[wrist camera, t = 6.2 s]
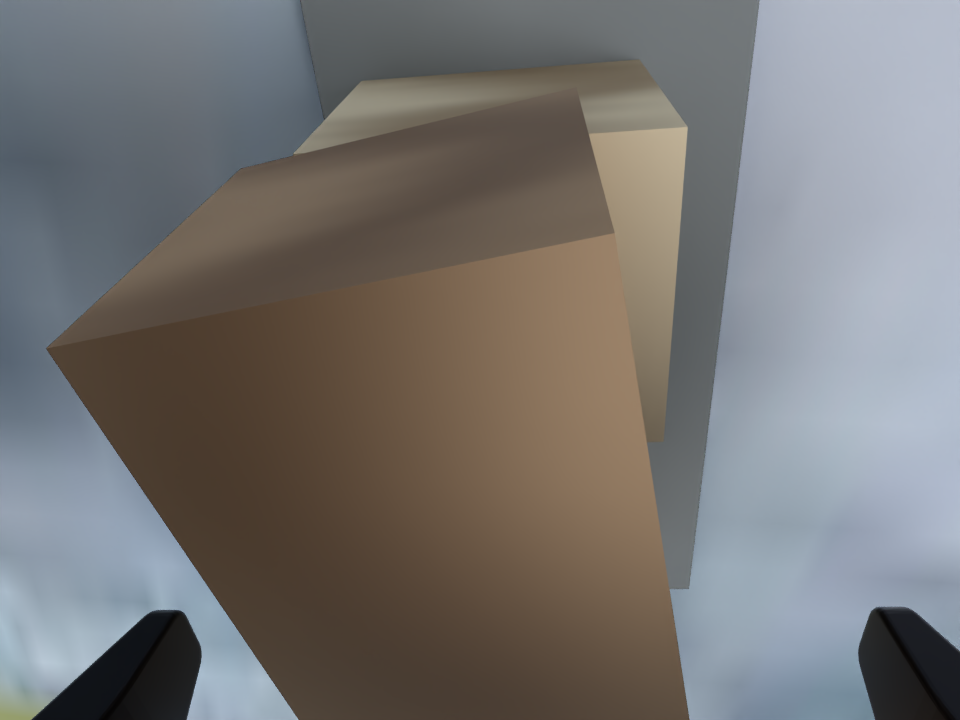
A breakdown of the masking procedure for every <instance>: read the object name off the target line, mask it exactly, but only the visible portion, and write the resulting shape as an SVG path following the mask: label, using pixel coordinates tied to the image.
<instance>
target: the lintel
mask: <svg viewBox="0 0 960 720" xmlns="http://www.w3.org/2000/svg"><path fill="white" fill-rule="evenodd" d="M46 349H47V351H48V352H49V354H50V355H51V357H52V358H53V360H54V361H55V363H56V364H57V365H58V367H59V368H60V370H61V371H62V373H63V374H64V376H65V377H66V379H67V380H68V382H69V383H70V385H71V386H72V387H73V389H74V390H75V392H76V393H77V395H78V396H79V398H80V399H81V401H82V402H83V404H84V405H85V407H86V408H87V409H88V411H89V412H90V414H91V415H92V417H93V418H94V420H95V421H96V423H97V424H98V426H99V427H100V429H101V430H102V432H103V433H104V434H105V436H106V437H107V439H108V440H109V442H110V443H111V445H112V446H113V448H114V449H115V451H116V452H117V454H118V455H119V456H120V458H121V459H122V461H123V462H124V464H125V465H126V467H127V468H128V470H129V471H130V473H131V474H132V476H133V477H134V479H135V480H136V481H137V483H138V484H139V486H140V487H141V489H142V490H143V492H144V493H145V495H146V496H147V498H148V499H149V501H150V502H151V503H152V505H153V506H154V508H155V509H156V511H157V512H158V514H159V515H160V517H161V518H162V520H163V521H164V523H165V524H166V526H167V527H168V528H169V530H170V531H171V533H172V534H173V536H174V537H175V539H176V540H177V542H178V543H179V545H180V546H181V548H182V549H183V550H184V552H185V553H186V555H187V556H188V558H189V559H190V561H191V562H192V564H193V565H194V567H195V568H196V570H197V571H198V572H199V574H200V575H201V577H202V578H203V580H204V581H205V583H206V584H207V586H208V587H209V589H210V590H211V592H212V593H213V595H214V596H215V597H216V599H217V600H218V602H219V603H220V605H221V606H222V608H223V609H224V611H225V612H226V614H227V615H228V617H229V618H230V619H231V621H232V622H233V624H234V625H235V627H236V628H237V630H238V631H239V633H240V634H241V636H242V637H243V639H244V640H245V642H246V643H247V644H248V646H249V647H250V649H251V650H252V652H253V653H254V655H255V656H256V658H257V659H258V661H259V662H260V664H261V665H262V666H263V668H264V669H265V671H266V672H267V674H268V675H269V677H270V678H271V680H272V681H273V683H274V684H275V686H276V687H277V689H278V690H279V691H280V693H281V694H282V696H283V697H284V699H285V700H286V702H287V703H288V705H289V706H290V708H291V709H292V711H293V712H294V713H295V715H296V716H297V718H298V719H299V720H689V714H688V708H687V701H686V694H685V688H684V681H683V675H682V668H681V662H680V655H679V649H678V642H677V636H676V629H675V623H674V616H673V610H672V603H671V597H670V590H669V584H668V577H667V571H666V564H665V558H664V551H663V544H662V538H661V531H660V525H659V518H658V512H657V505H656V499H655V492H654V486H653V479H652V473H651V466H650V460H649V453H648V447H647V440H646V434H645V427H644V421H643V414H642V408H641V401H640V394H639V388H638V381H637V375H636V368H635V362H634V355H633V349H632V342H631V336H630V329H629V323H628V316H627V310H626V303H625V297H624V290H623V284H622V277H621V271H620V264H619V258H618V251H617V244H616V238H615V232H614V228H613V225H612V221H611V217H610V213H609V209H608V206H607V202H606V198H605V194H604V190H603V187H602V183H601V179H600V175H599V171H598V168H597V164H596V160H595V156H594V152H593V149H592V145H591V141H590V137H589V133H588V130H587V126H586V122H585V118H584V114H583V111H582V107H581V103H580V99H579V95H578V92H577V88H576V87H575V88H571V89H567V90H563V91H559V92H555V93H550V94H546V95H542V96H538V97H534V98H530V99H526V100H522V101H517V102H513V103H509V104H505V105H501V106H497V107H493V108H489V109H484V110H480V111H476V112H472V113H468V114H464V115H460V116H456V117H451V118H447V119H443V120H439V121H435V122H431V123H427V124H423V125H418V126H414V127H410V128H406V129H402V130H398V131H394V132H390V133H386V134H381V135H377V136H373V137H369V138H365V139H361V140H357V141H353V142H348V143H344V144H340V145H336V146H332V147H328V148H324V149H320V150H315V151H311V152H307V153H303V154H299V155H295V156H291V157H287V158H282V159H278V160H274V161H270V162H266V163H262V164H258V165H254V166H249V167H245V168H241V169H240V170H239V171H238V172H237V173H236V174H234V175H233V176H232V177H231V178H230V179H229V180H228V181H227V182H226V183H225V184H224V185H223V186H221V187H220V188H219V189H218V190H217V191H216V192H215V193H214V194H213V195H212V196H211V197H210V198H208V199H207V200H206V201H205V202H204V203H203V204H202V205H201V206H200V207H199V208H198V209H197V210H195V211H194V212H193V213H192V214H191V215H190V216H189V217H188V218H187V219H186V220H185V221H184V222H182V223H181V224H180V225H179V226H178V227H177V228H176V229H175V230H174V231H173V232H172V233H171V234H169V235H168V236H167V237H166V238H165V239H164V240H163V241H162V242H161V243H160V244H159V245H158V246H156V247H155V248H154V249H153V250H152V251H151V252H150V253H149V254H148V255H147V256H146V257H145V258H143V259H142V260H141V261H140V262H139V263H138V264H137V265H136V266H135V267H134V268H133V269H132V270H130V271H129V272H128V273H127V274H126V275H125V276H124V277H123V278H122V279H121V280H120V281H119V282H117V283H116V284H115V285H114V286H113V287H112V288H111V289H110V290H109V291H108V292H107V293H106V294H104V295H103V296H102V297H101V298H100V299H99V300H98V301H97V302H96V303H95V304H94V305H93V306H91V307H90V308H89V309H88V310H87V311H86V312H85V313H84V314H83V315H82V316H81V317H80V318H78V319H77V320H76V321H75V322H74V323H73V324H72V325H71V326H70V327H69V328H68V329H67V330H65V331H64V332H63V333H62V334H61V335H60V336H59V337H58V338H57V339H56V340H55V341H54V342H52V343H51V344H50V345H49V346H48V347H47V348H46Z"/></svg>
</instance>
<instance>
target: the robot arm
mask: <svg viewBox="0 0 960 720" xmlns="http://www.w3.org/2000/svg"><path fill="white" fill-rule="evenodd" d="M858 656H859V664H860V668H861V671H862V675H863V678H864V682H865V685H866V689H867V692H868V696H869V699H870V703H871V706H872V710H873V713H874V717H875V720H960V651H959V650H958V649H957V648H955V647H954V646H953V645H952V644H951V643H950V642H949V641H948V640H946V639H945V638H944V637H943V636H942V635H941V634H940V633H939V632H937V631H936V630H935V629H934V628H933V627H932V626H931V625H930V624H928V623H927V622H926V621H925V620H924V619H923V618H922V617H920V616H919V615H918V614H917V613H916V612H914V611H913V610H911V609H909V608H906V607H876V608H875V609H873V610H872V611H871V613H870V615H869V618H868V621H867V624H866V627H865V629H864V632H863V635H862V638H861V641H860V644H859V650H858ZM201 657H202V653H201V646H200V643H199V641H198V639H197V637H196V635H195V633H194V631H193V629H192V627H191V625H190V623H189V621H188V619H187V617H186V615H185V614H184V613H183V612H182V611H180V610H156V611H152V612H150V613H149V614H147V615H146V616H144V617H143V618H142V619H141V620H140V621H139V622H138V623H137V624H136V625H135V626H133V627H132V628H131V629H130V630H129V631H128V632H127V633H126V634H125V635H124V636H122V637H121V638H120V639H119V640H118V641H117V642H116V643H115V644H114V645H113V646H112V647H110V648H109V649H108V650H107V651H106V652H105V653H104V654H103V655H102V656H101V657H99V658H98V659H97V660H96V661H95V662H94V663H93V664H92V665H91V666H90V667H89V668H87V669H86V670H85V671H84V672H83V673H82V674H81V675H80V676H79V677H78V678H77V679H75V680H74V681H73V682H72V683H71V684H70V685H69V686H68V687H67V688H66V689H64V690H63V691H62V692H61V693H60V694H59V695H58V696H57V697H56V698H55V699H54V700H52V701H51V702H50V703H49V704H48V705H47V706H46V707H45V708H44V709H43V710H41V711H40V712H39V713H38V714H37V715H36V716H35V717H34V718H33V719H32V720H187V716H188V712H189V708H190V704H191V700H192V696H193V692H194V688H195V684H196V680H197V676H198V672H199V668H200V664H201Z"/></svg>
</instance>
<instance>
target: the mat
mask: <svg viewBox="0 0 960 720" xmlns="http://www.w3.org/2000/svg"><path fill="white" fill-rule="evenodd" d="M300 2H301V7H302V12H303V17H304V22H305V27H306V32H307V37H308V42H309V47H310V52H311V57H312V62H313V67H314V72H315V77H316V82H317V87H318V92H319V97H320V102H321V107H322V112H323V117H324V120H325V119H326V118H327V117H328V116H329V115H330V114H331V113H332V112H333V111H334V110H335V109H336V107H337V106H338V105H339V104H340V103H341V102H342V101H343V100H344V99H345V98H346V97H347V96H348V95H349V94H350V93H351V91H352V90H353V89H354V88H355V87H356V86H357V85H358V84H359V83H360V82H361V81H367V80H380V79H393V78H406V77H419V76H432V75H445V74H458V73H471V72H484V71H497V70H510V69H522V68H535V67H548V66H561V65H574V64H587V63H600V62H613V61H626V60H639V59H640V61H641V62H642V64H643V65H644V66H645V68H646V69H647V71H648V72H649V73H650V75H651V76H652V78H653V79H654V80H655V82H656V83H657V85H658V86H659V87H660V89H661V90H662V92H663V93H664V94H665V96H666V97H667V99H668V100H669V101H670V103H671V104H672V106H673V107H674V108H675V110H676V111H677V113H678V114H679V115H680V117H681V118H682V120H683V121H684V122H685V124H686V125H687V127H688V131H687V144H686V157H685V170H684V183H683V196H682V209H681V222H680V235H679V248H678V261H677V274H676V287H675V300H674V313H673V326H672V339H671V352H670V365H669V378H668V391H667V404H666V417H665V430H664V442H647V447H648V453H649V460H650V466H651V473H652V479H653V486H654V492H655V499H656V505H657V512H658V518H659V525H660V531H661V538H662V544H663V551H664V558H665V564H666V571H667V577H668V584H669V589H689V583H690V575H691V567H692V558H693V550H694V542H695V533H696V525H697V517H698V508H699V500H700V492H701V483H702V475H703V467H704V458H705V450H706V442H707V433H708V425H709V417H710V408H711V400H712V392H713V383H714V375H715V367H716V358H717V350H718V342H719V333H720V325H721V317H722V308H723V300H724V292H725V283H726V275H727V267H728V258H729V250H730V242H731V233H732V225H733V217H734V208H735V200H736V192H737V183H738V175H739V167H740V158H741V150H742V142H743V133H744V125H745V117H746V108H747V100H748V92H749V83H750V75H751V67H752V58H753V50H754V42H755V33H756V25H757V17H758V8H759V0H300Z"/></svg>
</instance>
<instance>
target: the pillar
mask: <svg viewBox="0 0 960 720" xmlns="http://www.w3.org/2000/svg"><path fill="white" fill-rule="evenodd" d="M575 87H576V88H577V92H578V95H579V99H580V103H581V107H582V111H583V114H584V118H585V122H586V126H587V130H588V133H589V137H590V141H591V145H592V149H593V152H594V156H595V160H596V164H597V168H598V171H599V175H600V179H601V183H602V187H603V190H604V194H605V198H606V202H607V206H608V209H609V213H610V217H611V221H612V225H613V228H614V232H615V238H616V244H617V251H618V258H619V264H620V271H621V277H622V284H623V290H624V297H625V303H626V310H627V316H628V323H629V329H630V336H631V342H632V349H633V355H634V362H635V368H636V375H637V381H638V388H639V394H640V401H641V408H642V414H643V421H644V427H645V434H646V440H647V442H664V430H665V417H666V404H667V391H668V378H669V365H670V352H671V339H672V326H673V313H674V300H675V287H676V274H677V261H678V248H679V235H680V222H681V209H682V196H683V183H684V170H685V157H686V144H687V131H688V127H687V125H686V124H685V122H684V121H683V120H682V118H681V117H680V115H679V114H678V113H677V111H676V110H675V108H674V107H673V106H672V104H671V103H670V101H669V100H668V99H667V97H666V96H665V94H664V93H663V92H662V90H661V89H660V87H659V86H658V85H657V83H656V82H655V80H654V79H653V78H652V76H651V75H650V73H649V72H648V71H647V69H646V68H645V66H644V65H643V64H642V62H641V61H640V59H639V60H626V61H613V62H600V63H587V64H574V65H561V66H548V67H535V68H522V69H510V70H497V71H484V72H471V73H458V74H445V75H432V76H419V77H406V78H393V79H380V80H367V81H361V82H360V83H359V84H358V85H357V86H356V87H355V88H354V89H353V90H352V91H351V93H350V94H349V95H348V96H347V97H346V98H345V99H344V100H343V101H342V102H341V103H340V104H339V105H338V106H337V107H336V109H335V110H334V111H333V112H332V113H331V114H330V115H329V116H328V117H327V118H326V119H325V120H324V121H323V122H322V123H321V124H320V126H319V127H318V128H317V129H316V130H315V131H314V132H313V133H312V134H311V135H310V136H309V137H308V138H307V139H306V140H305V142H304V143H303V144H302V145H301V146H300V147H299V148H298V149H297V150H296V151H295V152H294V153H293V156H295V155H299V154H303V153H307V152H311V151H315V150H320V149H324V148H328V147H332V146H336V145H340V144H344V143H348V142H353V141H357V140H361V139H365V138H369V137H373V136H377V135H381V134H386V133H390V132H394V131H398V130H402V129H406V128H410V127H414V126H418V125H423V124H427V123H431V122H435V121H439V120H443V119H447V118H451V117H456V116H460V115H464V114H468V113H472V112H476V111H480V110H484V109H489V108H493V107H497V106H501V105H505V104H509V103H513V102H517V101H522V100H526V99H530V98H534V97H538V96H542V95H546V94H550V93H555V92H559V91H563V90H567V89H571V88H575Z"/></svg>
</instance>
